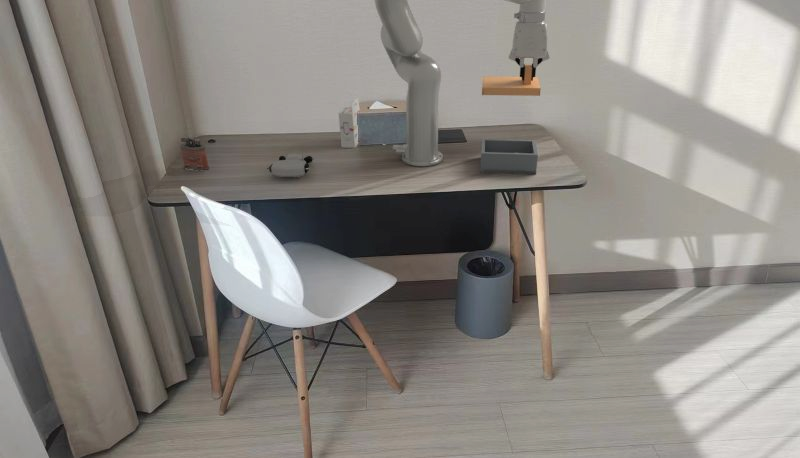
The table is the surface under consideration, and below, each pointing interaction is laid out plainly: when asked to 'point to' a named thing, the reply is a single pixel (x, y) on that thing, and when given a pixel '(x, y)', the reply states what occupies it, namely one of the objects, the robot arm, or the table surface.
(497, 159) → the tub
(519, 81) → the lid
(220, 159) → the table surface
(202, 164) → the lighter
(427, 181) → the table surface
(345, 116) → the ink cartridge box
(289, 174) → the robot toy
